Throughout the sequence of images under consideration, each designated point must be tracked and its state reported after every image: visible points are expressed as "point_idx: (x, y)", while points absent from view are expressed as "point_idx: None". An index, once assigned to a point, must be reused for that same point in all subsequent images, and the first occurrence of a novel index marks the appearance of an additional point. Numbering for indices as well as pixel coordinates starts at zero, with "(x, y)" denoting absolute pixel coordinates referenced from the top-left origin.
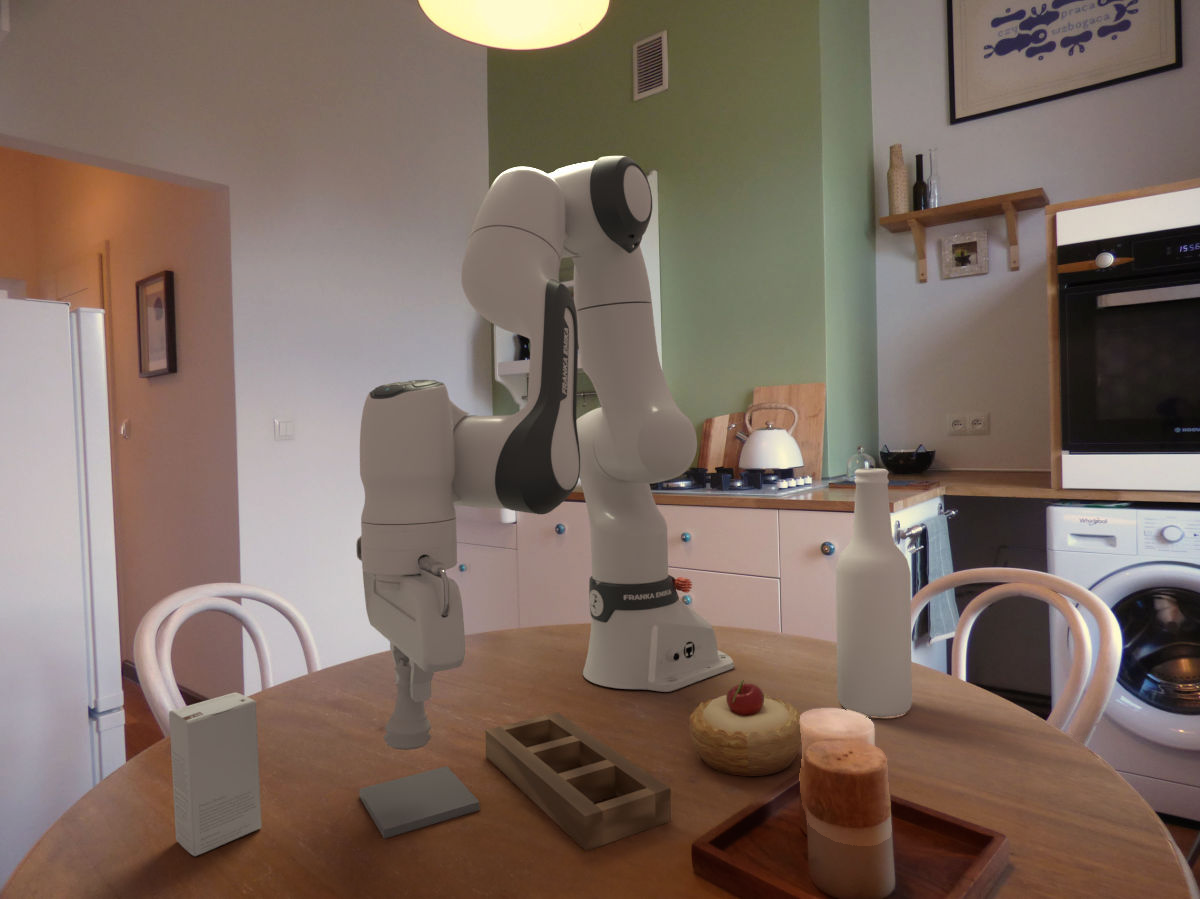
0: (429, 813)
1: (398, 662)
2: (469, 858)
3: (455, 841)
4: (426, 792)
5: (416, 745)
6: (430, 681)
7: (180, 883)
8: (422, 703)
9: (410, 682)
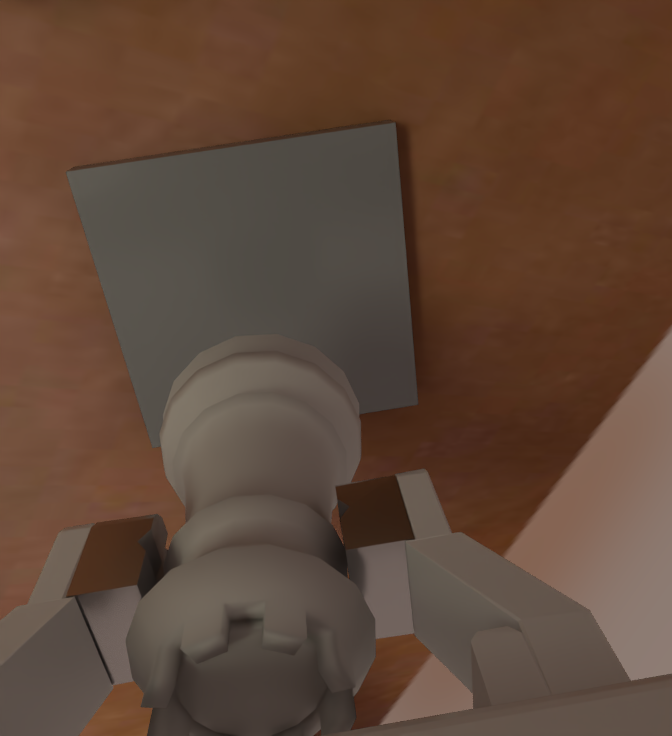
0: (393, 286)
1: (80, 716)
2: (619, 211)
3: (521, 229)
4: (255, 275)
5: (358, 403)
6: (454, 533)
7: (384, 695)
8: (300, 457)
9: (415, 631)
